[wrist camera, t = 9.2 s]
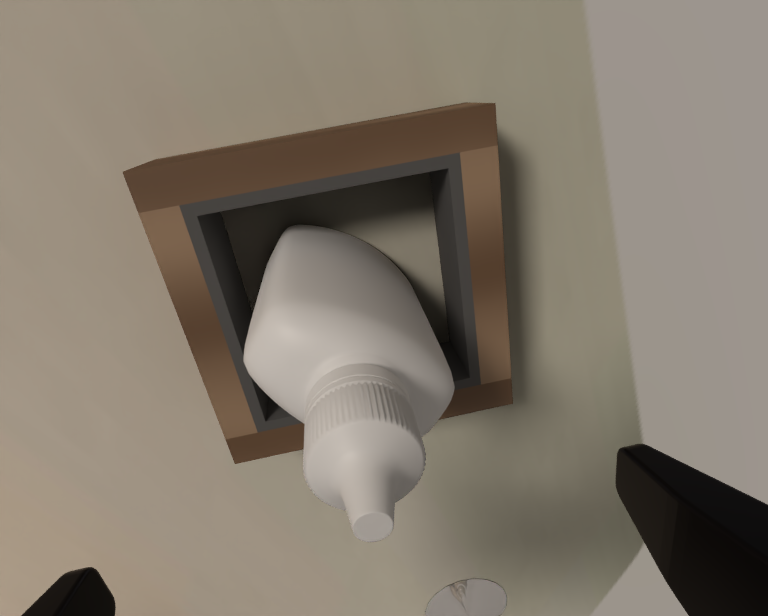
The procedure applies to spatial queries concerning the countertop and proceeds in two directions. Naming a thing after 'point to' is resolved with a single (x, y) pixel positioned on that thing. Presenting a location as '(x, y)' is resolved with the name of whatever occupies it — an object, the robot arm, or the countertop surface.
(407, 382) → the eye dropper bottle
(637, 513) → the robot arm
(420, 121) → the rubber-lined collar
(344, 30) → the countertop surface
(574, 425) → the countertop surface
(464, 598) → the wineglass
